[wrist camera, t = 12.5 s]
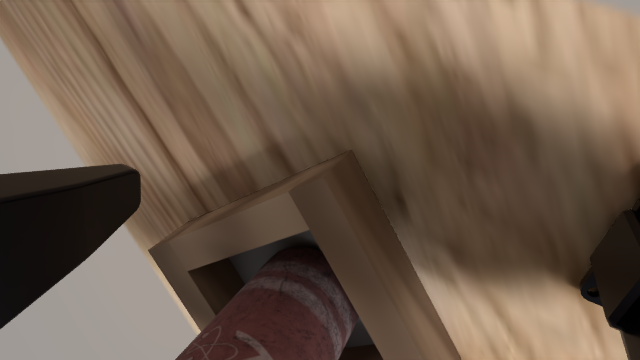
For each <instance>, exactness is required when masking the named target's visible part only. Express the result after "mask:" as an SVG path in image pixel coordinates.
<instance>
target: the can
mask: <svg viewBox="0 0 640 360" xmlns="http://www.w3.org/2000/svg"><path fill="white" fill-rule="evenodd" d="M358 318H359V315H358V314H357V312H356V310H355V308H354V307H353V305H352V303H351V301H350V300H349V298H348V296H347V294H346V293H345V291H344V289H343V287H342V286H341V284H340V282H339V280H338V278H337V277H336V275H335V273H334V271H333V270H332V268H331V266H330V264H329V263H328V261H327V259H326V257H325V256H324V254H323V252H322V251H320V250H317V249H314V248H308V247H290V248H287V249H283V250H280V251H278V252H277V253H276V254H274V255H273V256H272V257H271V258H270V259H269V260H268V261H267V262H266V263H265V264H264V265H263V266H262V267H261V268H260V269H259V270H258V272H257V273H256V274H255V275H254V276H253V277H252V278H251V279H250V280H249V281H248V282H247V283H246V284H245V286H244V287H243V288H242V289H241V290H240V291H239V292H238V293H237V294H236V295H235V296H234V297H233V298H232V299H231V301H230V302H229V303H228V304H227V305H226V306H225V307H224V308H223V309H222V310H221V311H220V312H219V313H218V314H217V316H216V317H215V318H214V319H213V320H212V321H211V322H210V323H209V324H208V325H207V326H206V327H205V328H204V329H203V331H202V332H201V333H200V334H199V335H198V336H197V337H196V338H195V339H194V340H193V341H192V342H191V343H190V344H189V346H188V347H187V348H186V349H185V350H184V351H183V352H182V353H181V354H180V355H179V356H178V357H177V358H176V359H175V360H338V359H339V357H340V355H341V353H342V351H343V349H344V347H345V345H346V343H347V341H348V339H349V337H350V335H351V333H352V331H353V329H354V327H355V325H356V323H357V321H358Z"/></svg>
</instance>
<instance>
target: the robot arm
mask: <svg viewBox="0 0 640 360" xmlns="http://www.w3.org/2000/svg"><path fill="white" fill-rule="evenodd" d="M140 202H141V182H140V174H139V172H138V171H137V170H136V169H134V168H131V167H129V166H127V165H124V164H113V165H102V166H90V167H79V168H68V169H56V170H45V171H33V172H21V173H10V174H0V329H1V328H2V327H4V326H5V325H6V324H7V323H8V322H10V321H11V320H12V319H13V318H15V317H16V316H17V315H18V314H20V313H21V312H22V311H23V310H24V309H26V308H27V307H28V306H29V305H31V304H32V303H33V302H34V301H36V300H37V299H38V298H39V297H41V296H42V295H43V294H44V293H46V292H47V291H48V290H49V289H50V288H52V287H53V286H54V285H55V284H57V283H58V282H59V281H60V280H62V279H63V278H64V277H65V276H66V275H68V274H69V273H70V272H71V271H73V270H74V269H75V268H76V267H78V266H79V265H80V264H81V263H82V262H83V261H85V260H86V259H87V258H88V257H89V256H90V255H91V254H92V253H94V252H95V250H97V249H98V248H99V247H100V246H101V245H102V244H103V243H104V242H105V241H106V240H107V239H108V238H109V237H110V236H111V235H112V234H113V233H114V232H115V231H116V230H117V229H118V228H119V227H120V226H121V225H122V224H123V223H124V222H125V221H126V220H127V219H128V218H129V217H130V216H131V215H132V214H133V213H134V212H135V211H136V210H137V209H138V207H139V205H140ZM590 261H591V265H592V266H591V268H590V269H589V271H588V272H587V274H586V275H585V276H584V278H583V279H582V281H581V282H580V285H579V286H580V291H581V295H582V296H583V298H585V299H586V300H588V301H590V302H593V303H595V304H598V305H600V306H602V307H603V309H604V313H605V317H606V319H607V322H608V324H609V326H610V327H612V328H614V329H616V330H619V331H620V334H621V337H622V340H623V344H624V347H625V350H626V354H627V357H628V360H640V198H639V200H638V201H637V203H636V204H635V205H634V207H633V208H632V209H629V210H626V211H623V212H621V214H620V215H619V217H618V218H617V220H616V221H615V222H614V224H613V225H612V227H611V228H610V230H609V231H608V233H607V234H606V235H605V237H604V238H603V240H602V241H601V243H600V244H599V246H598V247H597V248H596V250H595V251H594V253H593V254H592V256H591V257H590ZM592 287H595V288H598V291H595V292H592V291H589V290H588V289H589V288H592Z"/></svg>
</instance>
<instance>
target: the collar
mask: <svg viewBox="0 0 640 360" xmlns="http://www.w3.org/2000/svg"><path fill="white" fill-rule="evenodd" d="M290 247H308V248H314V249H317V250H320V251H322V252H323V254H324V256H325V257H326V259H327V261H328V263H329V264H330V266H331V268H332V270H333V271H334V273H335V275H336V277H337V278H338V280H339V282H340V284H341V286H342V287H343V289H344V291H345V293H346V294H347V296H348V298H349V300H350V301H351V303H352V305H353V307H354V308H355V310H356V312H357V314H358V315H359V318H358V321H357V323H356V325H355V327H354V329H353V331H352V333H351V335H350V337H349V339H348V341H347V343H346V345H345V347H344V349H343V351H342V353H341V355H340V357H339V359H338V360H461V357H460V355H459V353H458V351H457V350H456V348H455V346H454V344H453V342H452V340H451V338H450V336H449V334H448V332H447V331H446V329H445V327H444V325H443V323H442V321H441V319H440V317H439V315H438V313H437V312H436V310H435V308H434V306H433V304H432V302H431V300H430V298H429V296H428V295H427V293H426V291H425V289H424V287H423V285H422V283H421V281H420V279H419V277H418V276H417V274H416V272H415V270H414V268H413V266H412V264H411V262H410V260H409V258H408V257H407V255H406V253H405V251H404V249H403V247H402V245H401V243H400V241H399V240H398V238H397V236H396V234H395V232H394V230H393V228H392V226H391V224H390V222H389V221H388V219H387V217H386V215H385V213H384V211H383V209H382V207H381V205H380V203H379V202H378V200H377V198H376V196H375V194H374V192H373V190H372V188H371V186H370V184H369V183H368V181H367V179H366V177H365V175H364V173H363V171H362V169H361V167H360V166H359V164H358V162H357V160H356V158H355V156H354V154H353V152H352V150H350V151H348V152H346V153H343V154H341V155H339V156H336V157H334V158H332V159H330V160H327V161H325V162H323V163H321V164H318V165H316V166H314V167H312V168H309V169H307V170H305V171H302V172H300V173H298V174H296V175H293V176H291V177H289V178H287V179H284V180H282V181H280V182H278V183H275V184H273V185H271V186H268V187H266V188H264V189H262V190H259V191H257V192H255V193H253V194H250V195H248V196H246V197H244V198H241V199H239V200H237V201H234V202H232V203H230V204H228V205H225V206H223V207H221V208H219V209H216V210H214V211H212V212H210V213H207V214H205V215H203V216H200V217H198V218H196V219H194V220H191V221H189V222H187V223H186V224H184V225H183V226H181V227H180V228H179V229H177V230H176V231H174V232H173V233H172V234H170V235H169V236H167V237H166V238H165V239H163V240H162V241H160V242H159V243H158V244H156V245H155V246H153V247H152V248H151V249H149V250H148V251H149V253H150V254H151V256H152V257H153V259H154V260H155V262H156V263H157V265H158V267H159V268H160V270H161V271H162V273H163V274H164V276H165V277H166V279H167V280H168V282H169V283H170V285H171V286H172V288H173V289H174V291H175V292H176V294H177V295H178V297H179V298H180V300H181V302H182V303H183V305H184V306H185V308H186V309H187V311H188V312H189V314H190V315H191V317H192V318H193V320H194V321H195V323H196V324H197V326H198V327H199V329H200V330H201V332H202V331H203V329H204V328H205V327H206V326H207V325H208V324H209V323H210V322H211V321H212V320H213V319H214V318H215V317H216V316H217V314H218V313H219V312H220V311H221V310H222V309H223V308H224V307H225V306H226V305H227V304H228V303H229V302H230V301H231V299H232V298H233V297H234V296H235V295H236V294H237V293H238V292H239V291H240V290H241V289H242V288H243V287H244V286H245V284H246V283H247V282H248V281H249V280H250V279H251V278H252V277H253V276H254V275H255V274H256V273H257V272H258V270H259V269H260V268H261V267H262V266H263V265H264V264H265V263H266V262H267V261H268V260H269V259H270V258H271V257H272V256H273V255H274V254H276V253H277V252H278V251H280V250H283V249H287V248H290Z"/></svg>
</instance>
